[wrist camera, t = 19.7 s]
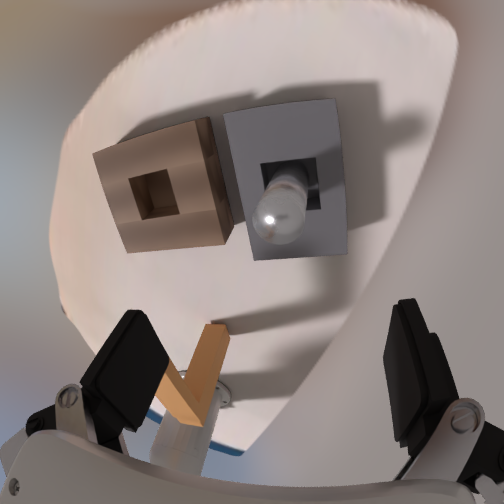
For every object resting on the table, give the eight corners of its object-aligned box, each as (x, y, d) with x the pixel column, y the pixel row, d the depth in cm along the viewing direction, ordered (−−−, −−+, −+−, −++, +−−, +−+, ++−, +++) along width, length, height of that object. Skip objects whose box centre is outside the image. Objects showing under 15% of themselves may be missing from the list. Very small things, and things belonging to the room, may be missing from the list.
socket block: (234, 226, 30) (224, 244, 27) (143, 236, 33) (127, 253, 30) (209, 116, 25) (194, 120, 21) (113, 145, 27) (92, 153, 24)
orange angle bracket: (231, 338, 40) (205, 427, 27) (209, 337, 40) (178, 422, 28) (206, 261, 33) (155, 358, 21) (180, 262, 34) (124, 353, 22)
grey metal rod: (310, 192, 26) (306, 243, 17) (277, 194, 27) (256, 245, 18) (307, 159, 24) (301, 195, 16) (272, 162, 25) (248, 199, 17)
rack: (342, 234, 29) (347, 254, 25) (259, 240, 31) (253, 260, 27) (330, 98, 22) (335, 98, 18) (234, 111, 24) (222, 113, 21)
